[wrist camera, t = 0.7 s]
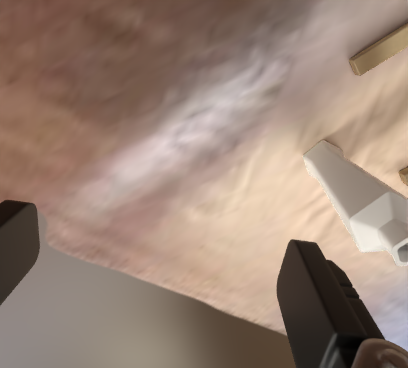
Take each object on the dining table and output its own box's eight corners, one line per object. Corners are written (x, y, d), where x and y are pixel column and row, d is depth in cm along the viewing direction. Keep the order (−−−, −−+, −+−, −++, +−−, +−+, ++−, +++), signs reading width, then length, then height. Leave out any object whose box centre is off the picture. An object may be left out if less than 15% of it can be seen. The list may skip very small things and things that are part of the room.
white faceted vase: (346, 133, 30) (463, 209, 16) (345, 174, 31) (448, 275, 18) (298, 139, 30) (371, 219, 16) (299, 180, 32) (366, 283, 18)
